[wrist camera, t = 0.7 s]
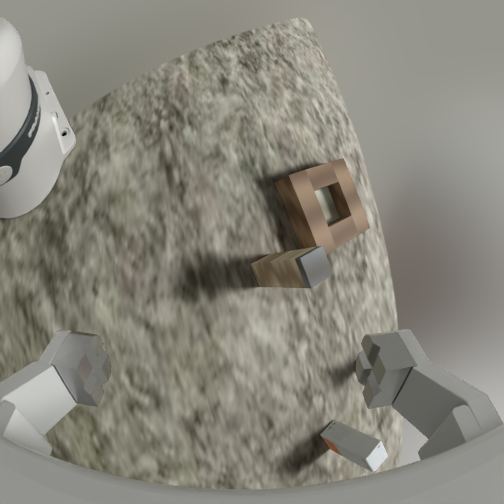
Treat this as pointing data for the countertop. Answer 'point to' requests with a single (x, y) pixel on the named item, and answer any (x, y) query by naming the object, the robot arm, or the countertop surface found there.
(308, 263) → the peg
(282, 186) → the socket block
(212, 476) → the countertop surface
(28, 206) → the robot arm
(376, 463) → the skincare box
